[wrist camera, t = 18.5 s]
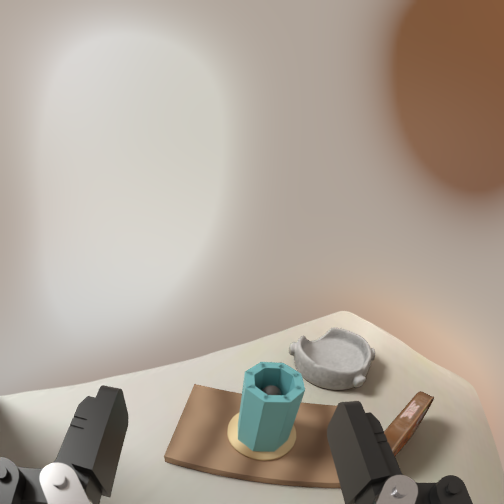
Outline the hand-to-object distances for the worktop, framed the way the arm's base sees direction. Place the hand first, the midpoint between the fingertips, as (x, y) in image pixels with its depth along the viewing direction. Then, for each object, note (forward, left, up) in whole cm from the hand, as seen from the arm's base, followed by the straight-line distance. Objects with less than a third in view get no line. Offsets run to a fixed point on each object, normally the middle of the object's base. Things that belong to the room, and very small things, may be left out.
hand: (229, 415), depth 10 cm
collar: (+2, +18, -25) cm, 30 cm away
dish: (+13, +36, -27) cm, 47 cm away
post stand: (+2, +18, -27) cm, 32 cm away
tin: (+21, +18, -27) cm, 39 cm away
